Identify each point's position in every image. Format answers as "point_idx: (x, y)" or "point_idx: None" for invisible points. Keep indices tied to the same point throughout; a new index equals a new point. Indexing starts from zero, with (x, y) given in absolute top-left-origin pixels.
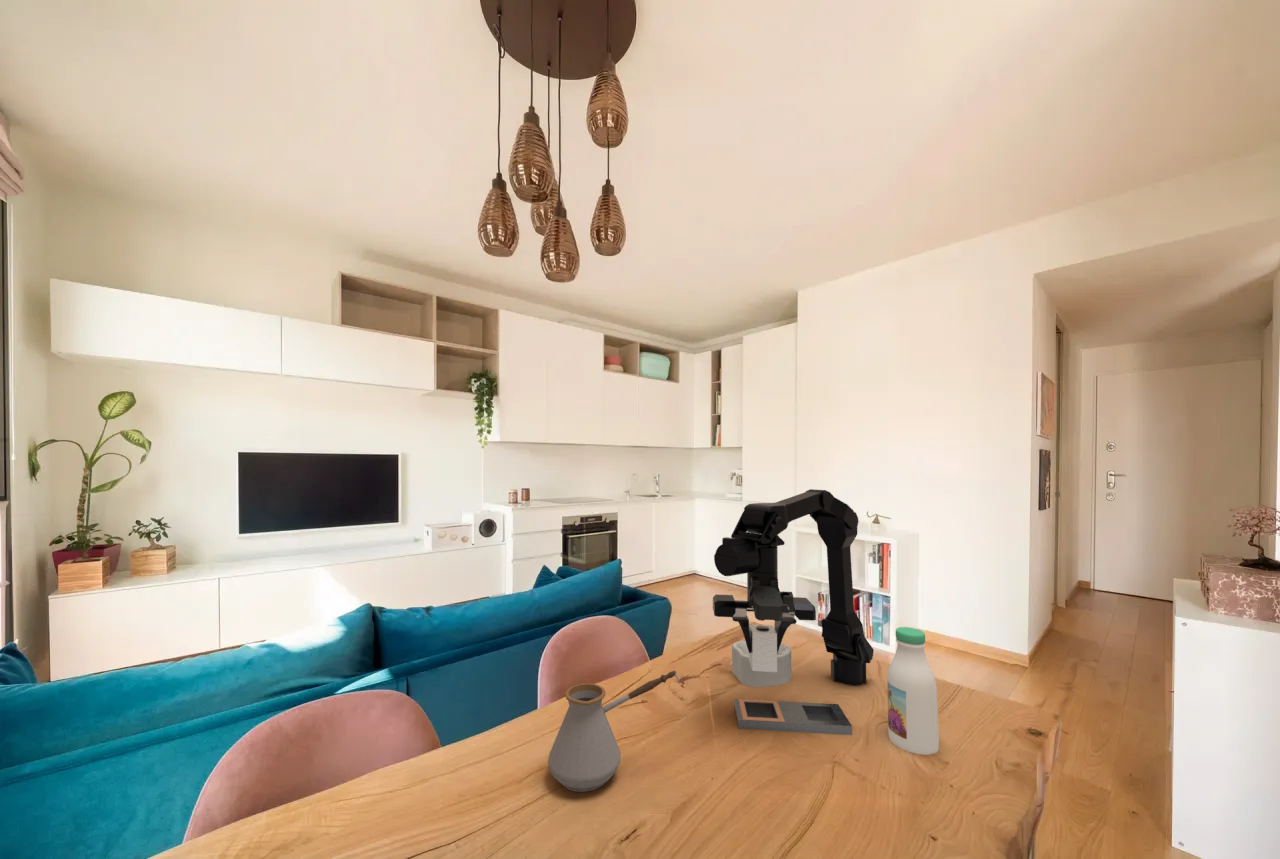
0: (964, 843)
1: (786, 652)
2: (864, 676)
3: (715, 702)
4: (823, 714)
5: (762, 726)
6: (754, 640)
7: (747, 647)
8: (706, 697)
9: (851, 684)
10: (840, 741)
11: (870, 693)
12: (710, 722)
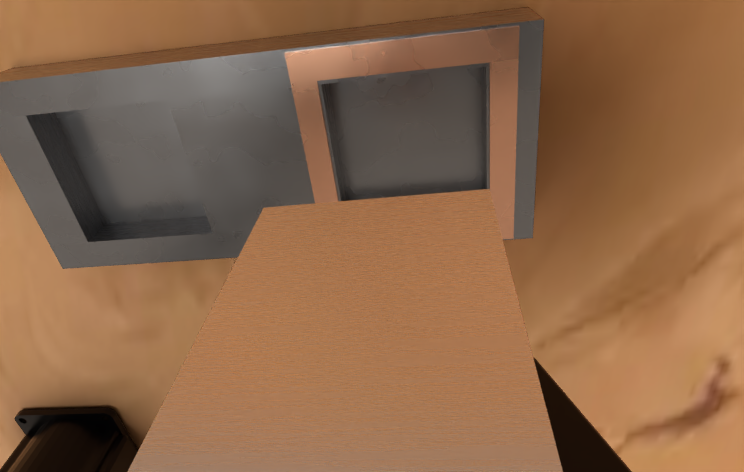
0: None
1: None
2: (12, 458)
3: (597, 267)
4: (135, 220)
5: (407, 28)
6: (517, 444)
7: (568, 398)
8: (632, 298)
9: (65, 426)
10: (57, 51)
11: (15, 398)
12: (661, 94)
